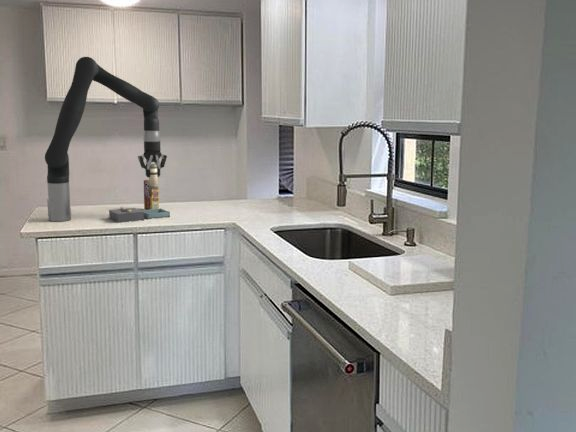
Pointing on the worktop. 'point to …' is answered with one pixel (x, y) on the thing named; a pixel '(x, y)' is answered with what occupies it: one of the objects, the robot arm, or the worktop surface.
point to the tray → (155, 213)
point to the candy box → (151, 196)
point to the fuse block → (126, 215)
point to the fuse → (153, 176)
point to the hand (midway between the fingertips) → (153, 176)
